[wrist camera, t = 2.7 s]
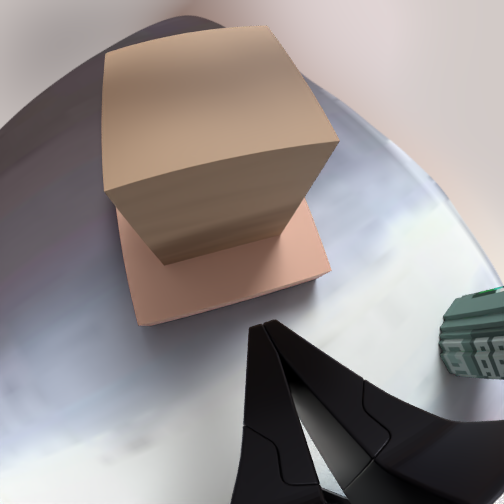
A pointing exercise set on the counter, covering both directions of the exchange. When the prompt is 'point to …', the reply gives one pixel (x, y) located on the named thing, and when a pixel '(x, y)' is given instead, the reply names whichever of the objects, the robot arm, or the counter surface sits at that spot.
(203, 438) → the counter surface
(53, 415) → the counter surface
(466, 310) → the can
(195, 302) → the thick peach slab
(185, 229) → the tan block
